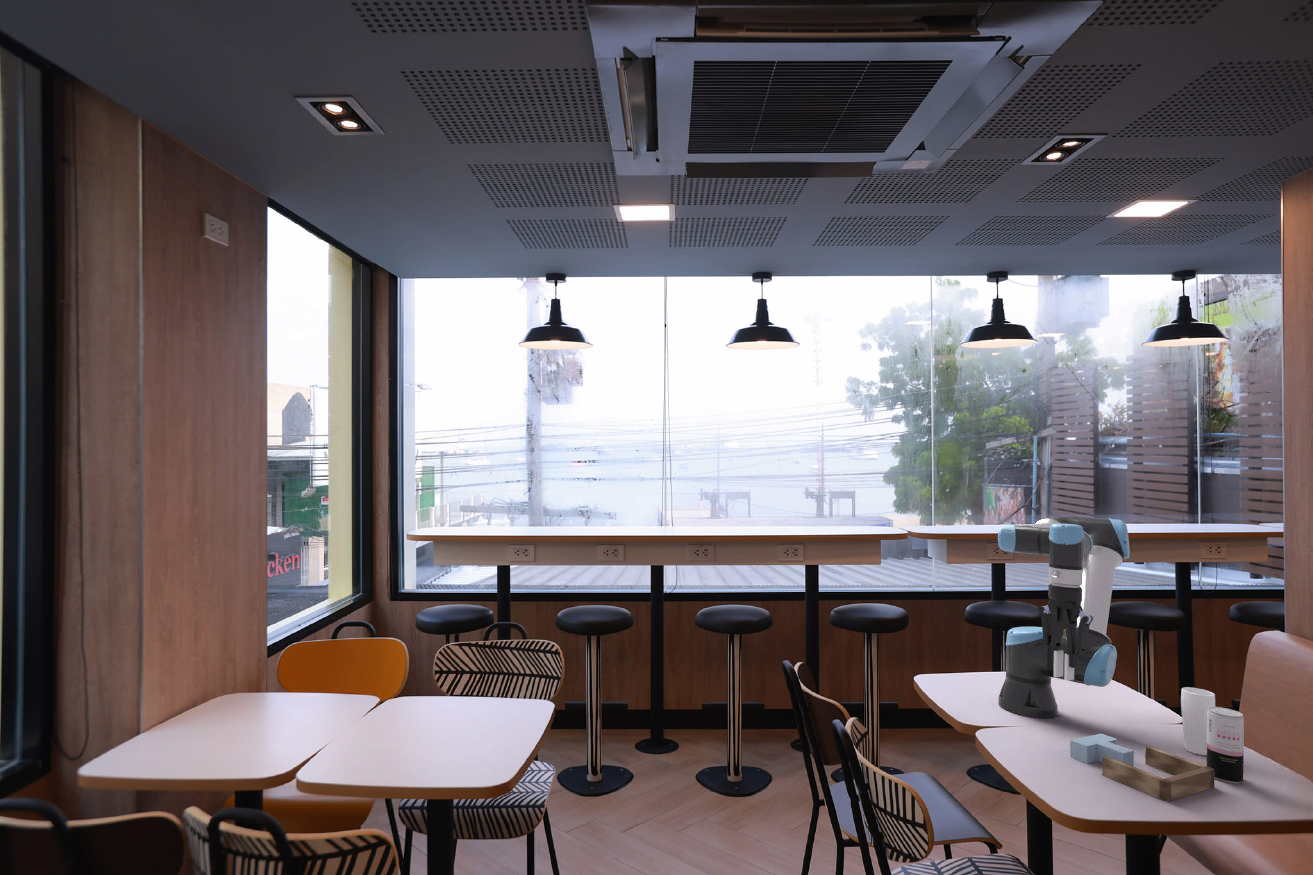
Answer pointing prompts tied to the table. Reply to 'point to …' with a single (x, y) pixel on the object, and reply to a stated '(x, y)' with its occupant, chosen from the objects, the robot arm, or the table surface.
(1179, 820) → the table surface
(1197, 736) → the white paper cup
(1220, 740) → the beverage can
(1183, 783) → the walnut corral
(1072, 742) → the tee block
